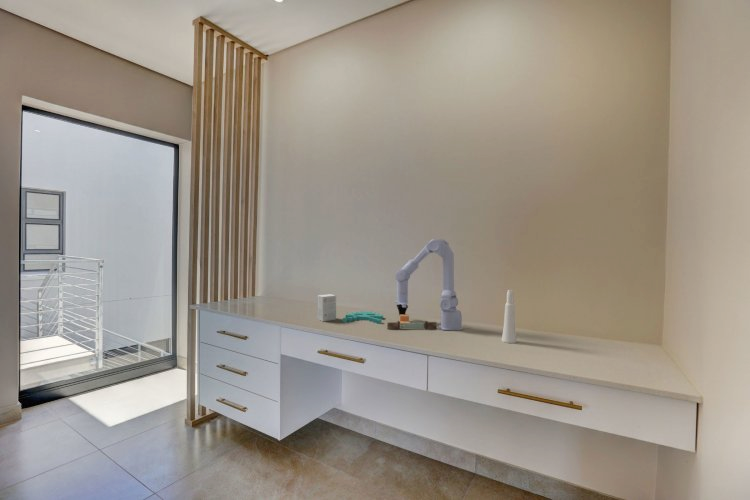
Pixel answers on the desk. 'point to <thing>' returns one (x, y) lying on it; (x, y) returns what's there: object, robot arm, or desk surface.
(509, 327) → the cosmetic bottle
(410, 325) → the grey rod
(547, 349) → the desk surface
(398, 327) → the frame
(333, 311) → the small box
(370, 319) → the alien figure
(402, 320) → the doorstop wedge
